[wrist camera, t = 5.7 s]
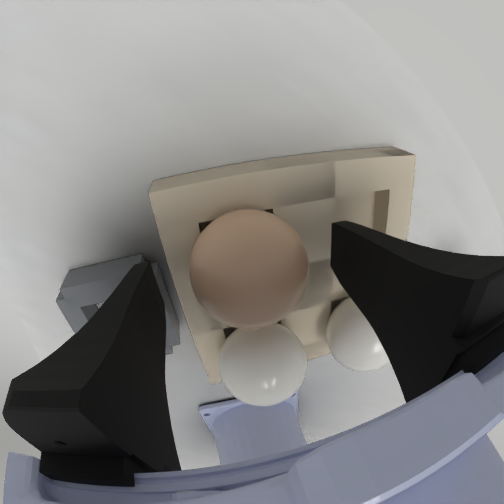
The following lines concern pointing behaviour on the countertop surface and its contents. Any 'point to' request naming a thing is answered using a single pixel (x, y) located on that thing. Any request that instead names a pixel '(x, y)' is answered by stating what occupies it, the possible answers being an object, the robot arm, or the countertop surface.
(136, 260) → the egg stand
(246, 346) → the white egg
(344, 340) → the white egg
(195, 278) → the brown egg
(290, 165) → the carton
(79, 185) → the countertop surface
